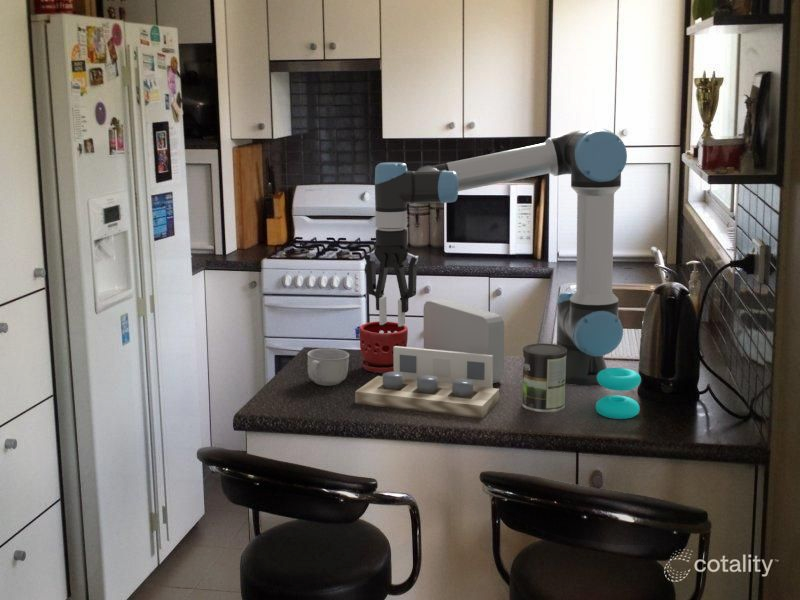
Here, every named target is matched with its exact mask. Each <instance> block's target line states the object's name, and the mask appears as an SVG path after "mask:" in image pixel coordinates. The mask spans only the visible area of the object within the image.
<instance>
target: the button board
mask: <svg viewBox="0 0 800 600" xmlns="http://www.w3.org/2000/svg"><path fill="white" fill-rule="evenodd" d="M354 396H355V399H354V403H355V404H359V405H366V406H375V407H383V408H384V407H385V408H392V409H400V410H408V411H418V412H425V413H435V414H441V415H442V414H443V415H452V416H460V417H461V416H462V417H469V418H477V419H484V417H485V416H486V415H488V413H489V412H490V411H491V410H492V409H493V408H494V407H495V406H496V405H497V404H498V403H499V402H500V388H495V387H493V388H487V387H477V386H473V395H472V396H470V397H456V396H454V395H453V394H452V384H449V383H440V382H438V391H437V392H434V393H421V392H418V391H417V380H411V379H403V387H402V388H400V389H385V388H383V375H382V376H380V375H377V376H375V377H374V378H372V379H371V380H369V381H368V382H366V383H365V384H363V386H361V387H360V388H358V389H357V390H355V391H354Z"/></svg>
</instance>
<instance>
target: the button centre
mask: <svg viewBox="0 0 800 600" xmlns="http://www.w3.org/2000/svg"><path fill="white" fill-rule="evenodd" d="M417 391H418V392H421V393H434V392H437V391H438V378H437V377H436V376H431V375H423V376H419V377H417Z"/></svg>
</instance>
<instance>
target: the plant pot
mask: <svg viewBox="0 0 800 600" xmlns="http://www.w3.org/2000/svg"><path fill="white" fill-rule="evenodd" d="M358 331H359V334H358V338H359V347H360V352H361V356H362V357H363V359H362V360H361V362H360V363H361V366H362V367H363V368H364V370H366V371H369V372H371V373H376V372H378V373H379V374H384V373H386V372H394V352H393V347H394V346H401V347H408V338H409V337H408V334H409V331H408V326H407V325H406V324H405V325H403V326H401V327H400V326H398V322H394V321H387V323H385V324H383V325H380V324H379V321H370V322H365V323H363V324H361V325H360V326H359V330H358ZM381 331H382V332H381ZM378 373H377V374H378Z"/></svg>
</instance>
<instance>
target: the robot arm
mask: <svg viewBox="0 0 800 600" xmlns="http://www.w3.org/2000/svg"><path fill="white" fill-rule="evenodd" d="M627 158H628V154H627V149H626V145H625V143H624V142H623V140H622V139H621V138H620V136H618V135H617V134H616V133H614V132H612V131H610V130H608V129H606V128H593V127H584V128H579V129H576V130H572V131H569V132H567V133H563V134H560V135H556V136H552V137H548V138H546V140H545V141H544V142H542V143H538V144H533V145H527V146H524V147H519V148H513V149H508V150H503V151H499V152H495V153H494V152H493V153H489V154H485V155H479V156H474V157H470V158H464V159H460V160H455V161H448V162H446V163H440V164H436V165H429V164H428V165H423V166H420V167H419V168H418V169H417V170H416V171H414V170H408V167H407V164H406V163H404V162H396V161H394V162H393V161H392V162H390V161H389V162H380V163H378V164H377V165H376V166H375V169H374V170H375V172H374V200H375V201H374V202H375V204H374V205H375V212H374V214H375V218H374V219H375V221H374V222H375V227H376V228H377V229H376V230H375V249H374V250H373V252H369V253H365V254H364V260H365V263H366V274H367V277H366V278H367V279H366V280H367V293H368V295H372V296H374V298H375V309H376V310H375V311H378V314H379V315H378V316H379V321H378V322H379V324H380V325H383V324H385V323H387V322H388V320H387V296H386V295H385V292H384V291H385V287H386V282H387V277H388V271H389V270H390V268H393V270H394V272H395V275H396V281H397V285H398V290H399V296H400V298H399V299H397V323H398V326H400V327H401V326H403V325H405V326H406V313H407V312H409V308H410V307H409V300H410V299H411V298H413V297H414V296H416V295H417V274H418V272H417V271H418V268H417V266H418V263H419V261H420V256H419V255H414V254H412V253H410V251H409V249H408V230H407V229H406V228H407V227H408V204H414V203H415V204H420V203H421V204H422V203H423V204H430V203H431V204H443V205H444V204H445V203H447V204H448V203H454V202H456V201H457V200H458V197H459V196H458V195H459V192H461V191H466V190H467V191H468V190H472V189H478V188H482V187H486V186H487V187H488V186H492V185H497V184H502V183H507V182H512V181H517V180H521V179H526V178H527V179H528V178H531V177H537V176H543V175H547V174H551V175H552V176H553V177H557V176H562V175H563V176H564V175H570V187H571V189H572V190H573V191H575V193H576V195H577V201H576V203H577V204H576V206H577V207H576V212H577V213H576V277H575V278H576V280H575V281H576V282H575V285H576V289H575V290H571V291H569V290H568V291H566V290H565V291H562V292H559V294H558V297H557V303H556V307H557V308H556V309H557V310H556V311H557V312H556V313H557V314H556V317H557V318H556V345H560V346H563V347H565V348H566V349H567V354H566V377H565V385H572V386H594V385H595V386H596V385H600V384H599V383H598V381H597V374H598V373H599V372H600V371H601V370H604V369H608V367H607V363H606V361H605V360H606V359H605V356H606V355H608V354H610V353H612V352H613V351H615V350H616V349H617V348H618V347H619V345H620V343H621V342H622V339H623V336H624V327H623V325H622V321H621V319H620V318H619V297H617V296H616V294H614V292H613V275H614V273H613V271H614V270H613V267H614V266H613V265H614V264H613V263H614V259H613V258H614V224H615V223H614V216H615V214H614V213H615V212H614V211H615V194H616V192H618V190H619V189H620V188H621V187H622V172H623V171H624V169H625V168H626V165H627V160H628V159H627ZM376 260H378V262H379V266H378V268H379V269H378V270H379V272H378V277H377V271H376V270H377V267H376ZM406 260H407V263H408V271H407V273H408V275H407V278H406V274H405V264H404V263H405V261H406ZM384 295H385V296H384Z"/></svg>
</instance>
